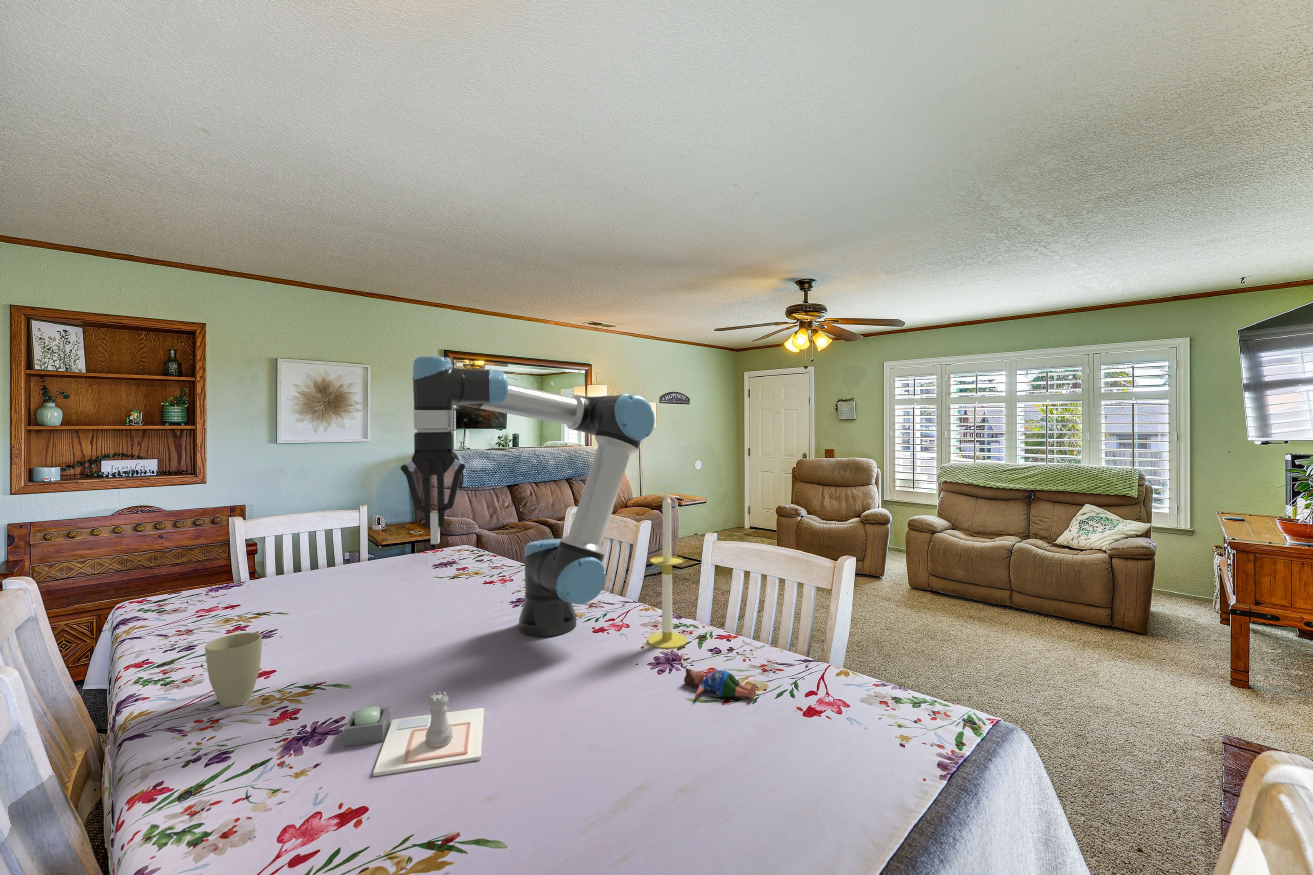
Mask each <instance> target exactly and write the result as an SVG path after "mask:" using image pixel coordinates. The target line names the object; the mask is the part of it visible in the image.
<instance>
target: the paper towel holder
mask: <svg viewBox="0 0 1313 875" xmlns="http://www.w3.org/2000/svg"><path fill="white" fill-rule="evenodd" d="M649 561H650V563H651V564H653V565H656V566H660V567H661V572H662V573H661V591H662V592H661V599H662V600H661V626H662V628H661V632H655V633H653V634H651V635H649V636H648V637H647V640H646V642H647V643H648V645H650V646H652V647H653V648H656V649H663V650H664V649H665V650H671V649H677V648H680V647H684V646H685V645H686V644H687V642H688V638H687V637H686V636H685V635H683V634H682V633H677V632H673V566H678V565H681V564H684V561H685V559H684V558H683V557H681V556H677V555H672V500H671V499H670V497H669V493H668V492H665V497H664V499H663V501H662V555H657V556H653V557H651V558H650V559H649Z"/></svg>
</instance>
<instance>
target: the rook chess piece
mask: <svg viewBox="0 0 1313 875" xmlns="http://www.w3.org/2000/svg"><path fill="white" fill-rule="evenodd" d="M449 699H450V698H449V697H448V696H447V693H446V691H437V694H436V692H433V693H432V694H431V695H430V698H429V700H428V702H427V704H428V705H429V706H430V709H429V712H430V715H431V722H430V726H429V728H428V731H427V732H426V736H425V737H426V739H425V743H426V744H427V745H428V746H429V747H431V748H439V747H442V746H445V745H447V744H448V743H449V742H450V741H451V740H452V738H453V734H452V728H451V727H450V724H449V723H448V721H447V715H446V713H447V710H448V706H447V703H448V702H449Z"/></svg>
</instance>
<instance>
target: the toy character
mask: <svg viewBox="0 0 1313 875" xmlns="http://www.w3.org/2000/svg"><path fill="white" fill-rule="evenodd" d="M683 682H684V684H685V685H686V686H688V687H690V688H697V687H698V689H697V691H696V693H695V695H694V698H695V699H697V698H698V697H699V695H700V694H701V693H702V692H703V691H714V692H715V693H716V695H717V696H719V697H723V698H726V697H747V698H749V699H752V700H753V699H754V698H755V696H756V694H757V693H756V692H757V686H756V684H755V683H752V685H751V686H750V687H748V686H746V685H745V684H743V683H741V682H740V681H739V680H737V678H736V676H734V674H733V673H731V672H729V671H727V670H725V669H724V670H723V669H717V670H714V671H713V672H710V673H708V674H707V676H706V673H705V672H704V671H702V670H700V671H699V670H697V671H696V670H693V669H690V668H685V676H684V677H683Z"/></svg>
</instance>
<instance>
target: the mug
mask: <svg viewBox="0 0 1313 875" xmlns="http://www.w3.org/2000/svg"><path fill="white" fill-rule="evenodd" d="M262 639H263V635H262V634H261V633H259V632H246V631H245V632H237V633H234V634H228V635H224V636H220V637H217V638H215V639H213V640H211V641H209V642H208V643H206V644H205V646H204V651H205V658H206V667H207V675H208V681H209V683H210V685H211V687H212V690H213V692H214V694H215V696H216V698H217V701H218V703H219V705H220V706H221V707H224V708H231V707H236V706H240V705H243V704H245V703H247V702H248V701H250V700H251V699H252V696H253V692H254V689H255V686H256V683H257V680H258V677H259V673H260V670H261V661H262V647H263V646H262V644H263V643H262V642H263V640H262Z"/></svg>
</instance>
